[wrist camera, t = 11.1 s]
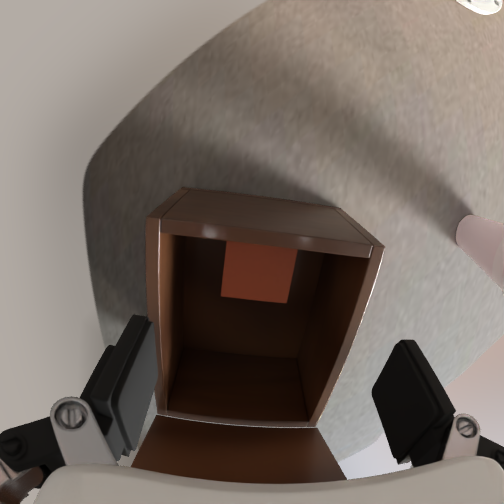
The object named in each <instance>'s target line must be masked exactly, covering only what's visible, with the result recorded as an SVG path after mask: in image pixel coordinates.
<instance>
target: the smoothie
mask: <svg viewBox="0 0 504 504" xmlns="http://www.w3.org/2000/svg"><path fill="white" fill-rule="evenodd" d="M456 242H457V245H458V246H459V247H460V248H461V249H462V250H463V251H464V252H465V253H466V254H467V255H468V256H469V257H470V258H471V259H472V260H473V261H474V262H475V263H476V264H477V265H478V266H479V267H480V268H481V269H482V270H483V271H484V272H485V273H486V274H487V275H488V276H489V277H490V278H491V279H492V281H493V282H494V283H495V284H496V285H497V286H498V287H499V288H500V289H501V290H502V291H503V296H504V224H503V223H500V222H496V221H493V220H489V219H486V218H482V217H479V216H475V215H467V216H465V217H464V218H463V219H462V220H461V221H460V223H459V225H458V227H457V230H456Z"/></svg>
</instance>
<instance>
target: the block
mask: <svg viewBox="0 0 504 504" xmlns="http://www.w3.org/2000/svg"><path fill="white" fill-rule="evenodd" d="M297 252H298V249H291V248H283V247H275V246H267V245H258V244H250V243H242V242H233V241H226V250H225V259H224V269H223V278H222V288H221V296H222V297H231V298H240V299H249V300H258V301H268V302H278V303H287V300H288V295H289V290H290V286H291V281H292V276H293V272H294V267H295V262H296V257H297Z"/></svg>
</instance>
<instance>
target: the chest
mask: <svg viewBox="0 0 504 504" xmlns="http://www.w3.org/2000/svg"><path fill="white" fill-rule="evenodd" d="M226 241H233V242H242V243H250V244H258V245H267V246H275V247H283V248H291V249H298V252H297V257H296V262H295V267H294V272H293V276H292V281H291V286H290V290H289V295H288V300H287V303H278V302H268V301H258V300H249V299H240V298H231V297H222V296H221V288H222V278H223V269H224V259H225V250H226ZM384 251H385V246H384V245H383V244H381V243H380V242H379V241H378V240H377V239H376V238H375V237H374V236H372V235H371V234H370V233H369V232H368V231H367V230H366V229H364V228H363V227H362V226H361V225H360V224H359V223H357V222H356V221H355V220H354V219H353V218H351V217H350V216H349V215H348V214H347V213H346V212H344V211H343V210H342V209H341V208H337V207H331V206H325V205H319V204H313V203H306V202H300V201H293V200H286V199H279V198H272V197H264V196H257V195H249V194H241V193H232V192H224V191H215V190H206V189H196V188H186V187H182V188H181V189H179V190H178V191H177V192H176V193H174V194H173V195H172V196H171V197H169V198H168V199H167V200H166V201H165V202H163V203H162V204H161V205H160V206H158V207H157V208H156V209H155V210H154V211H152V212H151V213H150V214H149V215H148V216H147V217H146V235H145V261H146V298H147V317H149V321H151V322H153V323H154V332H155V345H156V357H157V367H158V378H157V382H156V385H155V389H154V391H155V399H156V406H157V413H158V414H161V415H166V416H167V415H168V416H172V417H178V418H184V419H191V420H198V421H206V422H214V423H224V424H235V425H248V426H268V427H306V426H307V427H316V425H317V423H318V421H319V419H320V417H321V415H322V413H323V411H324V409H325V407H326V405H327V403H328V400H329V398H330V396H331V394H332V392H333V390H334V388H335V385H336V383H337V381H338V379H339V376H340V374H341V372H342V369H343V367H344V365H345V362H346V360H347V358H348V355H349V353H350V350H351V348H352V345H353V343H354V340H355V338H356V335H357V332H358V330H359V327H360V324H361V322H362V319H363V316H364V313H365V311H366V308H367V305H368V302H369V299H370V296H371V293H372V290H373V287H374V284H375V281H376V278H377V274H378V271H379V268H380V265H381V261H382V258H383V254H384Z"/></svg>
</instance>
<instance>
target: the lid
mask: <svg viewBox="0 0 504 504" xmlns="http://www.w3.org/2000/svg"><path fill="white" fill-rule="evenodd" d="M131 467H132V468H137V469H142V470H148V471H153V472H158V473H164V474H169V475H175V476H182V477H189V478H196V479H204V480H213V481H222V482H235V483H252V484H302V483H319V482H331V481H341V480H347V478H346V477H345V475H344V473H343V472H342V470H341V468H340V466H339V465H338V463H337V461H336V460H335V458H334V456H333V454H332V453H331V451H330V449H329V447H328V446H327V444H326V442H325V440H324V439H323V437H322V435H321V433H320V432H319V430H318V428H266V427H247V426H234V425H223V424H213V423H205V422H197V421H190V420H183V419H177V418H171V417H166V416H160V415H156V417H155V419H154V421H153V423H152V425H151V427H150V429H149V431H148V433H147V435H146V437H145V439H144V441H143V443H142V445H141V447H140V449H139V451H138V453H137V455H136V457H135V459H134V461H133V463H132V465H131Z"/></svg>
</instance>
